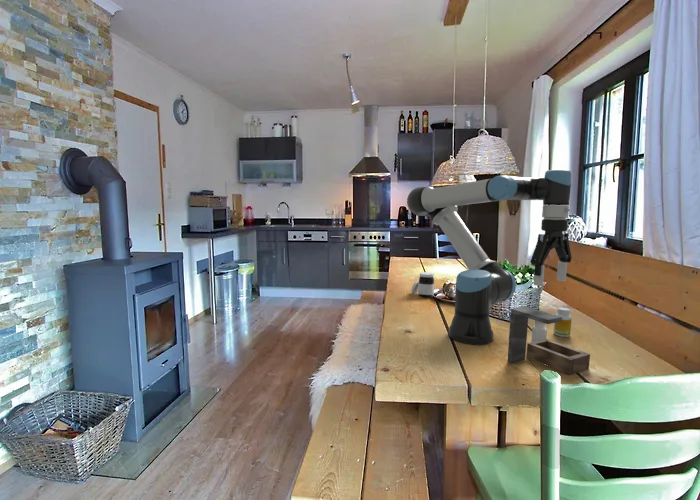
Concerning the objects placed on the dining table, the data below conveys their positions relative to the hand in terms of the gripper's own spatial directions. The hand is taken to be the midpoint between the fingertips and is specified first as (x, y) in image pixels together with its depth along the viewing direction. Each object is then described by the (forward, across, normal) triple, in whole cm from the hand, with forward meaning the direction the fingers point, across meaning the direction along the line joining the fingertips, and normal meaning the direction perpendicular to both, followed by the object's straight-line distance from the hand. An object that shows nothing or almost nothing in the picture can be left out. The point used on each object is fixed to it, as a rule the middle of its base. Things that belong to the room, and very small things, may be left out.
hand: (550, 283), depth 129 cm
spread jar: (+21, +13, +72) cm, 77 cm away
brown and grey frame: (+21, -15, -9) cm, 28 cm away
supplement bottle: (+22, +16, +3) cm, 27 cm away
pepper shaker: (+22, -2, +2) cm, 22 cm away
